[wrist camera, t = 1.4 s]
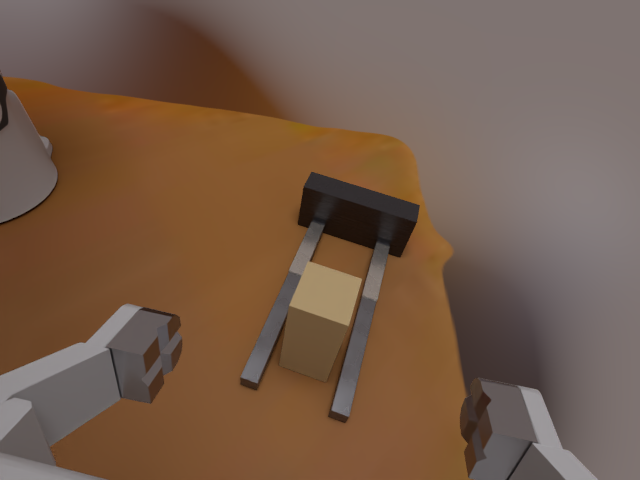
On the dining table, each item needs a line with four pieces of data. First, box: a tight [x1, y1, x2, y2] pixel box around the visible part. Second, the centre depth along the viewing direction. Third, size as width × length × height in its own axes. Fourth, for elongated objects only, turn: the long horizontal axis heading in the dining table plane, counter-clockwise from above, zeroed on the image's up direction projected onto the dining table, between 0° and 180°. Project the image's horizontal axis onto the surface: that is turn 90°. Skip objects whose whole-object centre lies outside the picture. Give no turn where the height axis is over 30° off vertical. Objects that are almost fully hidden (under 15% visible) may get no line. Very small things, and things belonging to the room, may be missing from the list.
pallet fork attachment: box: [240, 172, 420, 423], centre depth 39 cm, size 13×24×6 cm, turn 163°
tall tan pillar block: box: [279, 261, 362, 383], centre depth 33 cm, size 4×4×10 cm
